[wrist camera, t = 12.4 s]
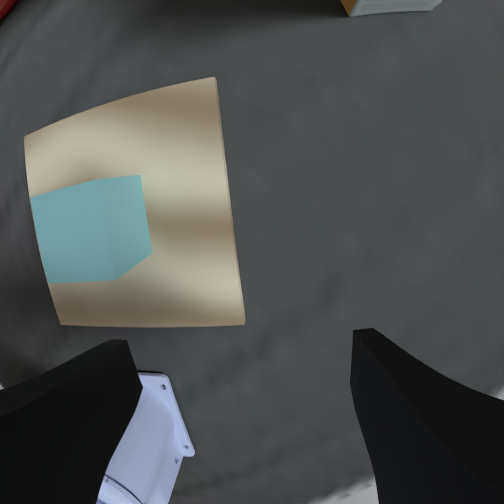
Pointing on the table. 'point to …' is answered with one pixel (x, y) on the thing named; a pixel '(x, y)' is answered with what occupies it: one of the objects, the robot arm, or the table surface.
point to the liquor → (6, 7)
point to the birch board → (151, 206)
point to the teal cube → (92, 229)
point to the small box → (386, 6)
